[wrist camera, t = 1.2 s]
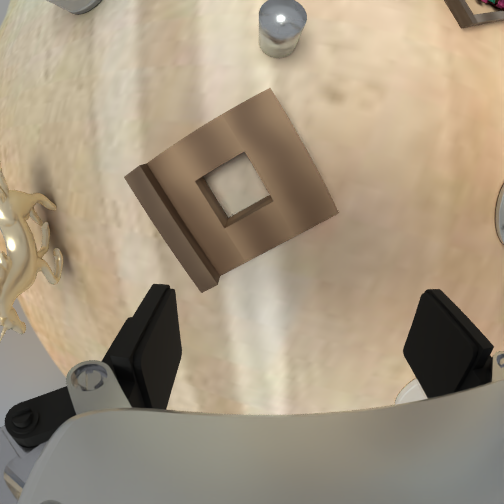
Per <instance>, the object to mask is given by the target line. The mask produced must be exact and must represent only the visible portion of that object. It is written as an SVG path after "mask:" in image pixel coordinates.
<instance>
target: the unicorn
mask: <svg viewBox="0 0 504 504" xmlns="http://www.w3.org/2000/svg"><path fill="white" fill-rule="evenodd" d="M36 203H40V204H42V205H43V206H44V207H46V208H47V209H49V210H52V211H55V210H56V205H55V204H54V203H52V202H51V201H50V200H49V199H48V198H47V197H46V196H44V195H43V194H41V193H33V194H28V193H25V192H21V191H17V190H8V185H7V182H6V180H5V178H4V176H3V174H2V168H1V163H0V230H1V232H2V234H3V237H4V239H5V243H6V248H7V255H6V254H5V253H4V252H3V251H2V253H1V252H0V325H1V326H3V331H2V333H1V337H0V341H1V340H2V337H3V336H4V334H5V331H6V330H10V329H12V330H14V331H15V332H18V333H19V334H23V333H25V330H26V325H25V323H24V322H21V321H20V319H19V317H18V315H17V312H16V311H15V309H14V308H13V307H12V305H13V303H14V300H15V299H16V298H17V297H18V296H19V295H20V294H21V293H23V292H24V291H26V290H27V289H29V288H30V287H31V286H32V285H33V283H34V281H35V279H36V276H37V273H38V272H39V271H41V272H42V273H43V274H44V275H45V277H46V279H47V280H48V282H49V283H50V284H53V285H55V284H57V283H58V282H59V280H60V277H61V271H62V267H63V255H62V253H61V251H60V249H59V248H55V249H54V252H53V255H54V258H55V270H54V273H52V271H51V269H50V267H49V265H48V264H47V262H46V261H45V260H43V259H42V257H43V256H44V254H45V253H46V252H47V251H48V248H49V239H50V228H49V224H48V222H45V223H44V224H43V223H42V220H41V219H40V218H39V216H38V215H37V213H36V212H35V210H34V205H35V204H36ZM29 216H30V217H31V218H32V220H33V221H35V222H36V223H37V224H39V225H40V226H42V246H41V249H40V250H39V251H38V252H37V247H36V243H35V239H34V237H33V234H32V232H31V229H30V227H29V226H28V224H27V222H26V220H28V218H29Z"/></svg>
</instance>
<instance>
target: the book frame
mask: <svg viewBox="0 0 504 504" xmlns="http://www.w3.org/2000/svg"><path fill="white" fill-rule="evenodd" d="M444 1H445V3H446V4H447V6H448V7H449V9H450V10H451V12H452V14H453V15H454V17H455V19H456V20H457V22H458V24H459V26H460V27H461V28H465V27H470V26H474V25H480V24H485V23H491V22H497V21H503V20H504V11H498V12H490V13H483V14H476V15H473V13H472V11H471V10H470V8H469V6H468V5H467V3H466V2H465V0H444Z"/></svg>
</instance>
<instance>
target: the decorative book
mask: <svg viewBox="0 0 504 504" xmlns="http://www.w3.org/2000/svg"><path fill="white" fill-rule="evenodd" d="M481 1H483V2H485V3H487V2H489V3H491V4H493V5H494V6H496V7H498V8H499V9H501V10H503V11H504V0H481Z"/></svg>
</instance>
